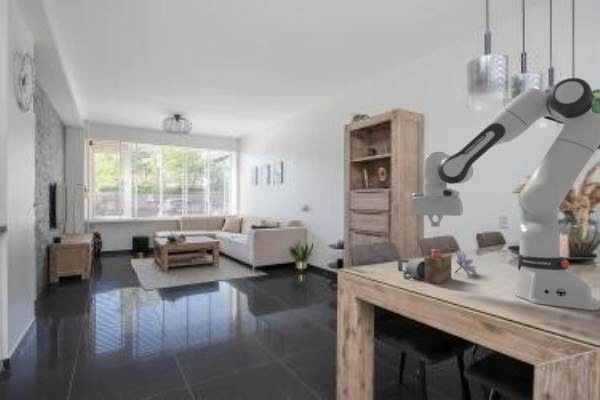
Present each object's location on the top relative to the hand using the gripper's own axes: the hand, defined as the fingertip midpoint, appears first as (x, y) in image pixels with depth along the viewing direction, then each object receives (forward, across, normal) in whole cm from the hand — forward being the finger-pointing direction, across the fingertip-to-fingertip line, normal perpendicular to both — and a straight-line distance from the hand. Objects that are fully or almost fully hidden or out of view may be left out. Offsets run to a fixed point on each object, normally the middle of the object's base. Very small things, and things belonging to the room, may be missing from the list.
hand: (435, 226), depth 132 cm
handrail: (+22, -12, +12) cm, 28 cm away
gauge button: (+15, 0, 0) cm, 15 cm away
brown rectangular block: (+22, 0, +3) cm, 23 cm away
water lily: (+23, +6, +21) cm, 32 cm away
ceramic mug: (+23, -9, +1) cm, 25 cm away
